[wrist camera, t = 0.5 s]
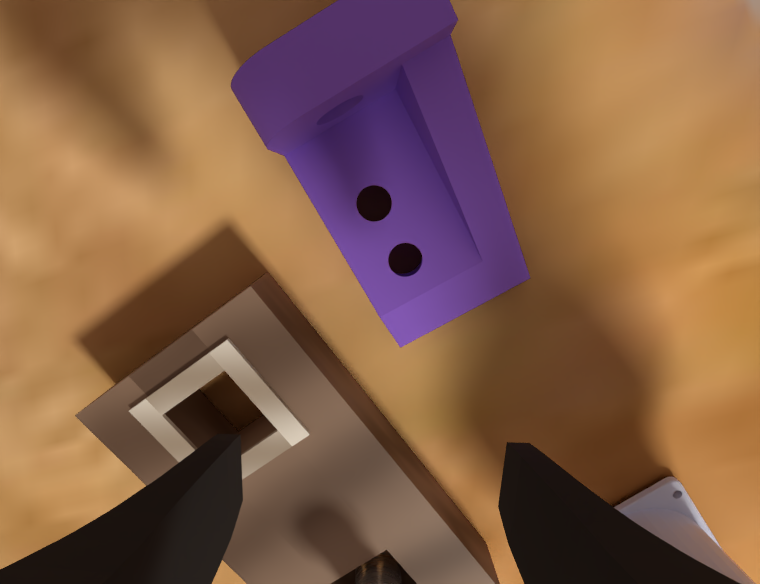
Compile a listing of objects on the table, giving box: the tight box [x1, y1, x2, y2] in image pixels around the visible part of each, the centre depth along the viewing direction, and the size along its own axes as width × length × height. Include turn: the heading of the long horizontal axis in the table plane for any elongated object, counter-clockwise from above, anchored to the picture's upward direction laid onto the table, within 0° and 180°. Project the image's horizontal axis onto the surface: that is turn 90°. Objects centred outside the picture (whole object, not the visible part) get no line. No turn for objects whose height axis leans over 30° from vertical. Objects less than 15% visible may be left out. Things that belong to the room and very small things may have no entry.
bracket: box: [231, 0, 530, 347], centre depth 16 cm, size 12×7×7 cm, turn 29°
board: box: [75, 272, 500, 584], centre depth 21 cm, size 20×10×3 cm, turn 36°
